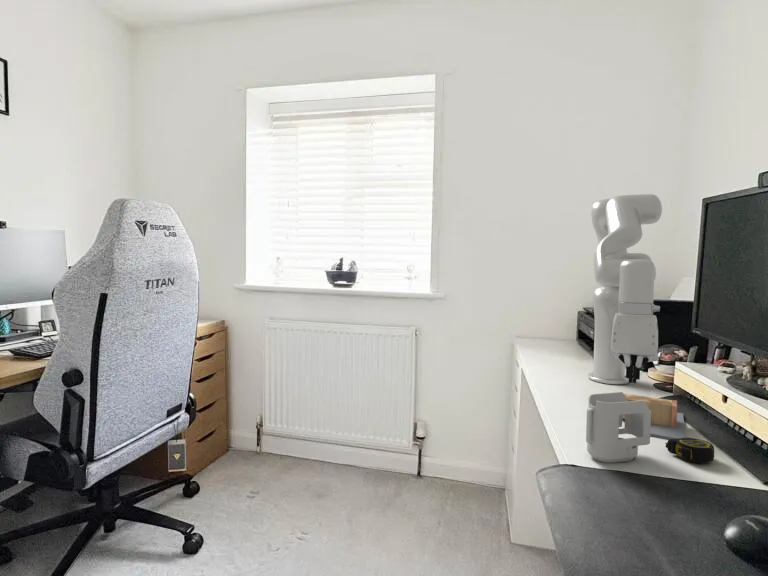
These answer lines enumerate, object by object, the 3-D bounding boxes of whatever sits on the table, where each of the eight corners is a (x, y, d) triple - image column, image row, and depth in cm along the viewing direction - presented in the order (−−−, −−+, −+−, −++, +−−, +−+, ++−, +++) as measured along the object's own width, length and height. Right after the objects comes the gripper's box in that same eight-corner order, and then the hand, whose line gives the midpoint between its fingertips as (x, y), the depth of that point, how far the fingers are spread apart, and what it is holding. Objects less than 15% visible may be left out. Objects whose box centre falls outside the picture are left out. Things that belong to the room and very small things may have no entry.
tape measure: (693, 451, 93) (693, 434, 93) (723, 466, 87) (723, 447, 87) (664, 453, 92) (665, 436, 92) (693, 468, 86) (693, 449, 85)
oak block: (621, 392, 115) (676, 400, 109) (620, 412, 115) (676, 421, 109) (619, 398, 111) (677, 406, 104) (619, 418, 111) (676, 427, 105)
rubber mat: (629, 407, 121) (630, 405, 121) (682, 415, 114) (683, 413, 114) (624, 431, 104) (624, 428, 104) (685, 442, 98) (685, 439, 97)
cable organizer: (652, 460, 89) (655, 399, 88) (597, 467, 86) (599, 404, 85) (626, 446, 95) (628, 389, 95) (574, 452, 93) (576, 393, 92)
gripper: (671, 309, 109) (667, 382, 110) (603, 306, 117) (601, 374, 118) (671, 312, 103) (667, 390, 104) (600, 308, 111) (597, 380, 112)
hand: (632, 381), depth 111 cm, fingers closed
